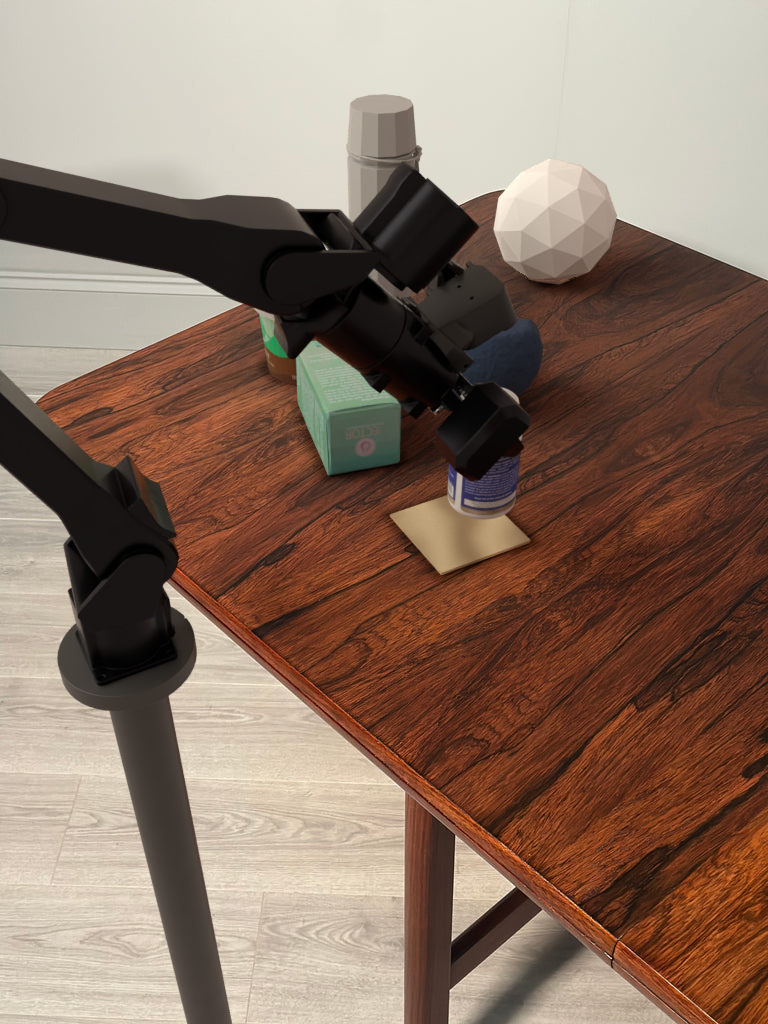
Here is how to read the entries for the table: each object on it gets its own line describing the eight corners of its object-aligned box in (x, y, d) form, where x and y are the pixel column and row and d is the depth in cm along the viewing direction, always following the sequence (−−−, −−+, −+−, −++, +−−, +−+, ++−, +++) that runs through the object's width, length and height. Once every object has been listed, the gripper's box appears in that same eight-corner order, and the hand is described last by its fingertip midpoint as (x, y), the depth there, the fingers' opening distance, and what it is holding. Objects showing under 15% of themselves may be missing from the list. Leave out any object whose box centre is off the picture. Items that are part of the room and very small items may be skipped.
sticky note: (441, 575, 87) (441, 572, 87) (389, 516, 93) (389, 514, 93) (530, 542, 90) (530, 540, 90) (475, 488, 97) (475, 485, 97)
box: (327, 479, 98) (325, 411, 93) (296, 406, 108) (292, 341, 103) (402, 466, 99) (403, 399, 95) (364, 395, 110) (363, 331, 105)
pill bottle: (529, 501, 87) (541, 399, 81) (485, 531, 84) (494, 428, 78) (476, 473, 90) (484, 372, 84) (432, 501, 87) (437, 399, 81)
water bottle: (366, 344, 118) (362, 119, 103) (340, 314, 124) (333, 97, 108) (438, 328, 121) (446, 107, 106) (410, 300, 127) (413, 86, 111)
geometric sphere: (516, 317, 134) (449, 223, 128) (579, 243, 139) (517, 149, 133) (594, 302, 122) (524, 198, 116) (659, 221, 127) (595, 118, 121)
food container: (246, 345, 118) (238, 263, 112) (299, 337, 119) (294, 255, 113) (270, 401, 109) (263, 314, 103) (327, 391, 110) (323, 305, 104)
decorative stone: (556, 422, 105) (566, 334, 99) (444, 441, 103) (447, 351, 97) (512, 365, 114) (519, 281, 108) (409, 381, 112) (410, 296, 106)
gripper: (517, 301, 65) (638, 415, 75) (397, 197, 78) (514, 305, 89) (399, 433, 67) (532, 526, 78) (302, 310, 81) (427, 403, 91)
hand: (501, 431), depth 84 cm, fingers closed on pill bottle, 6 cm apart
